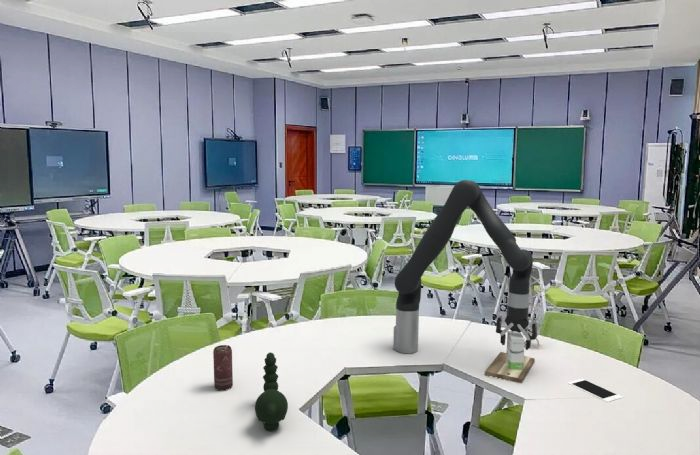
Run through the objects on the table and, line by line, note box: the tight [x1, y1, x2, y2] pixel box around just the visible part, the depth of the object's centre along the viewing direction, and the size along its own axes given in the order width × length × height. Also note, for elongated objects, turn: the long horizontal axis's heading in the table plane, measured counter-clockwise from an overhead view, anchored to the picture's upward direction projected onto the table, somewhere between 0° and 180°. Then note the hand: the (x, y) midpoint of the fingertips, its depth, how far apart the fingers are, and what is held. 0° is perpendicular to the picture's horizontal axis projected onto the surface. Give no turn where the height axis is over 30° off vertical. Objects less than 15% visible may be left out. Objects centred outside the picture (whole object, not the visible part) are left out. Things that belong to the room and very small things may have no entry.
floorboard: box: [484, 351, 536, 384], centre depth 198 cm, size 13×22×2 cm, turn 150°
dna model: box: [524, 275, 544, 349], centre depth 218 cm, size 7×6×30 cm
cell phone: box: [567, 378, 624, 403], centre depth 180 cm, size 8×16×1 cm, turn 27°
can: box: [212, 344, 234, 391], centre depth 179 cm, size 6×6×14 cm
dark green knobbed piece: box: [254, 352, 289, 432], centre depth 158 cm, size 9×19×25 cm
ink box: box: [505, 330, 526, 369], centre depth 196 cm, size 9×5×12 cm, turn 174°
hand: (515, 347), depth 196 cm, fingers open, 8 cm apart
